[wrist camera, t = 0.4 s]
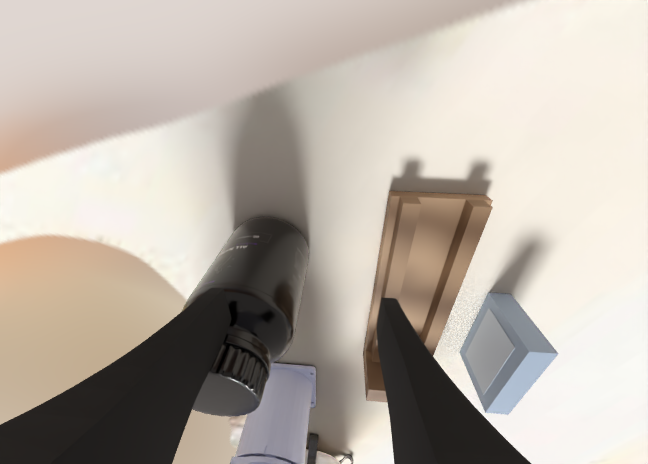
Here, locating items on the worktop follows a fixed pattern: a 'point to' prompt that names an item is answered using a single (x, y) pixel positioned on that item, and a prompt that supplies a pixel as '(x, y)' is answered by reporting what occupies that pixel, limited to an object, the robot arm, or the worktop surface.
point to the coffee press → (320, 454)
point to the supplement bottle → (253, 311)
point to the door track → (422, 266)
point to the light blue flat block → (504, 353)
